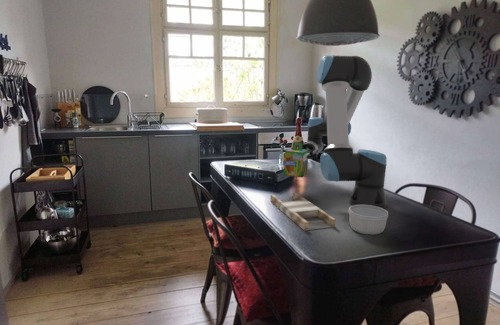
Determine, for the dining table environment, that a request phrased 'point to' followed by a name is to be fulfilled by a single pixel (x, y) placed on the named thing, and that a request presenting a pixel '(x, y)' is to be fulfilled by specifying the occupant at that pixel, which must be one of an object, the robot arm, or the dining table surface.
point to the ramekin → (367, 219)
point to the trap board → (304, 213)
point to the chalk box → (295, 161)
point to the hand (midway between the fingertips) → (293, 157)
